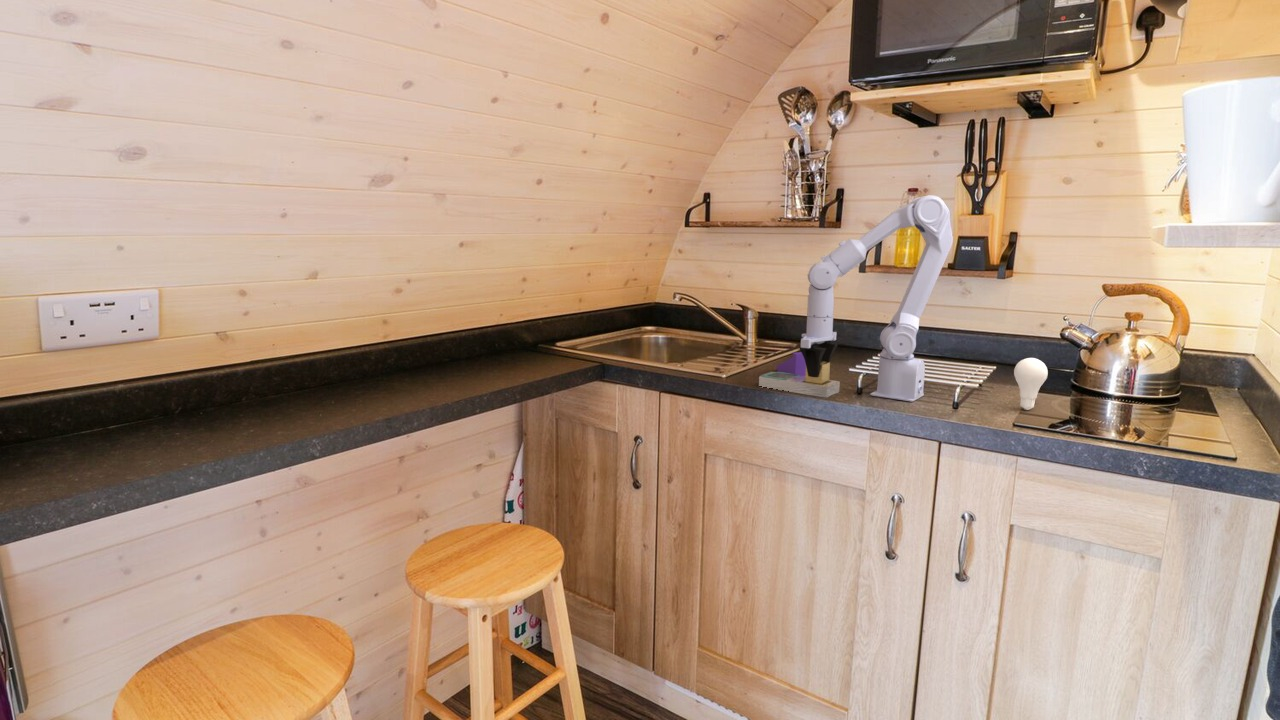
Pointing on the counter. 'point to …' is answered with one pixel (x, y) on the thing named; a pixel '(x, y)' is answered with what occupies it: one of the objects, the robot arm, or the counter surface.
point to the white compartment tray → (797, 384)
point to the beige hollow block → (820, 375)
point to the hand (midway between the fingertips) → (817, 375)
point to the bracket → (794, 365)
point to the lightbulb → (1030, 380)
